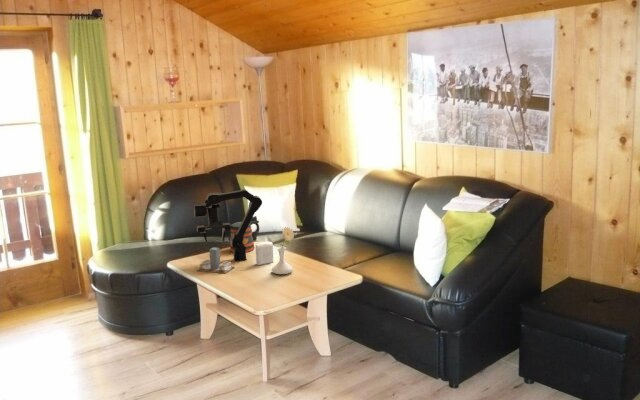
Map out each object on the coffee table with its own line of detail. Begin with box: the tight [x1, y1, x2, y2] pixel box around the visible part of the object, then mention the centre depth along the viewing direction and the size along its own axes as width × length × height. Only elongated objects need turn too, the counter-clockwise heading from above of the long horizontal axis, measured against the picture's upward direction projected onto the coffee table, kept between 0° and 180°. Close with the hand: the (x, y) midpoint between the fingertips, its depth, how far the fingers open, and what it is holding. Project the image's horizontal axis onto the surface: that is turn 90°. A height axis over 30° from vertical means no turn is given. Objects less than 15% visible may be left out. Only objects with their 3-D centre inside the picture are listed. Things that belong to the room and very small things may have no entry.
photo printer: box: [255, 241, 274, 266], centre depth 336 cm, size 10×4×12 cm, turn 123°
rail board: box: [196, 259, 235, 275], centre depth 328 cm, size 18×10×4 cm, turn 70°
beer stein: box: [229, 215, 260, 253], centre depth 364 cm, size 19×15×20 cm
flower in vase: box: [271, 226, 295, 275], centre depth 318 cm, size 13×11×25 cm
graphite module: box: [209, 247, 221, 269], centre depth 327 cm, size 4×4×11 cm
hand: (214, 242), depth 339 cm, fingers open, 9 cm apart
